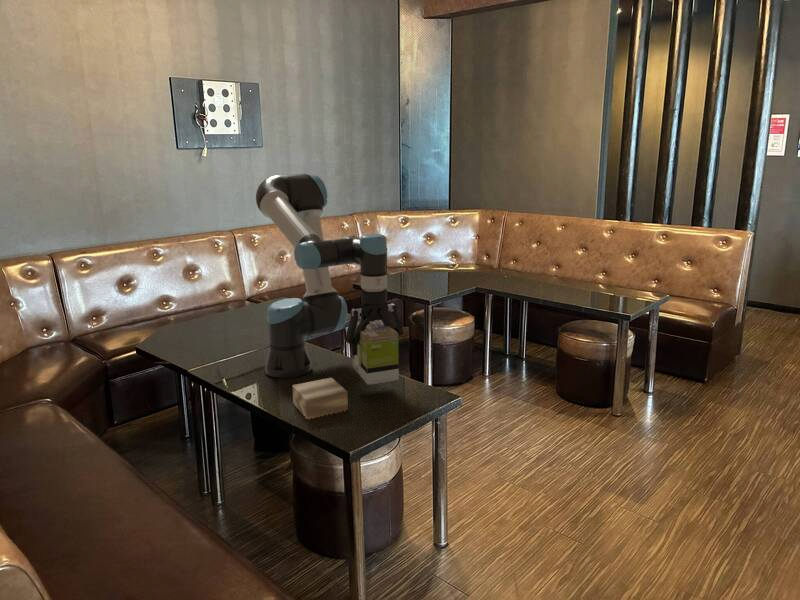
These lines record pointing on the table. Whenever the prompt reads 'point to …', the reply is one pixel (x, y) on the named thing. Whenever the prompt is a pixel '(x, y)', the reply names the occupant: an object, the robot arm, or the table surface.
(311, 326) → the robot arm
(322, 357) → the table surface
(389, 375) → the tea box
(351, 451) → the table surface
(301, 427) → the table surface
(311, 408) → the oak block
